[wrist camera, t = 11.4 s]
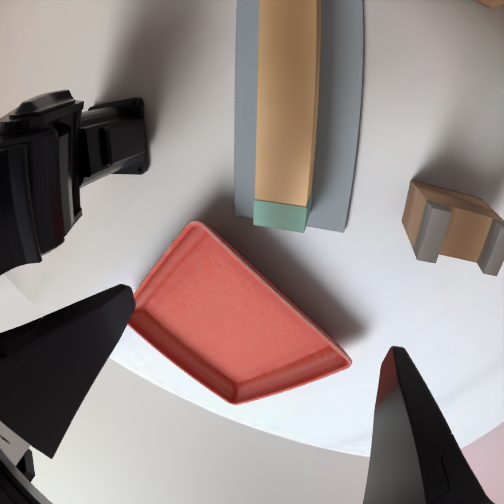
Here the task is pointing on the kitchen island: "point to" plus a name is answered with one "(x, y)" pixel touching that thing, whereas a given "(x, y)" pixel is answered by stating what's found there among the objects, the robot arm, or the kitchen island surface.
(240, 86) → the mat
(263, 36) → the rail
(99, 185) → the kitchen island surface
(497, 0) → the post
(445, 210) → the post
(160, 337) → the plant saucer
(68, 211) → the robot arm
